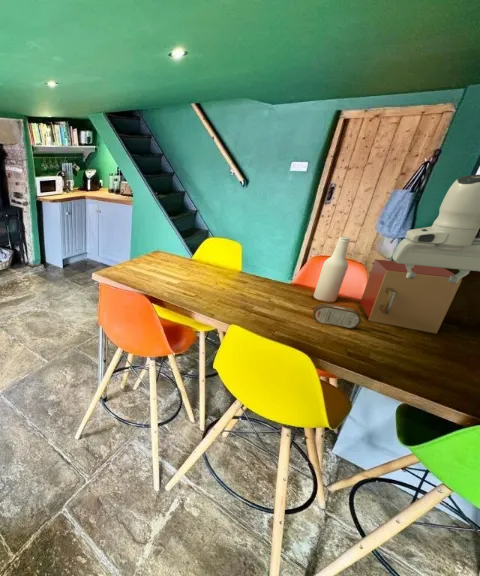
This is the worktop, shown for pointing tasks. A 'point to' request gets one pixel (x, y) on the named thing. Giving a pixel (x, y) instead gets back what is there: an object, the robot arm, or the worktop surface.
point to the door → (413, 301)
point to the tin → (336, 315)
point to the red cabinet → (383, 265)
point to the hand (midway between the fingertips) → (430, 280)
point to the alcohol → (333, 273)
